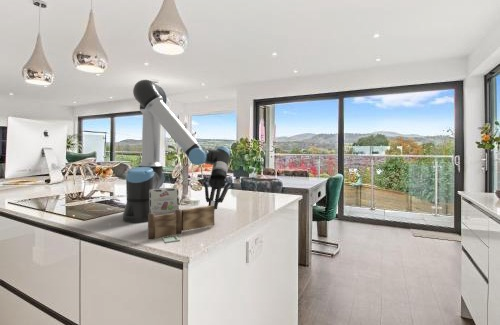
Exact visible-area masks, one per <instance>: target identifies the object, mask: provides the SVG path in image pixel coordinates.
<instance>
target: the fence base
mask: <svg viewBox="0 0 500 325" xmlns="http://www.w3.org/2000/svg"><path fill="white" fill-rule="evenodd" d="M182 210H183V209H180V208H179V209H178V210H175V213H170V214H163V215H156V216H155V213H149V214H148V221H147V225H148V226H147V228H148V229H147V236H148V240H151V241H152V240H155V239H162V237H166V236H173V235H176V236H177V235H181V234H182V233H183V231H182Z"/></svg>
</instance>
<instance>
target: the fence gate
mask: <svg viewBox="0 0 500 325" xmlns="http://www.w3.org/2000/svg"><path fill="white" fill-rule="evenodd" d="M181 210H182V232H185V231H191V230H196V229H202V228H206V227H210V226H211V227H212V226H214V225H215V211H214V210H216V209H215V208H214V206H208V205H206V206H198V207H192V208H191V207H190V208H185V209H183V208H182V209H181Z"/></svg>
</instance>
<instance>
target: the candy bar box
mask: <svg viewBox="0 0 500 325" xmlns="http://www.w3.org/2000/svg"><path fill="white" fill-rule="evenodd" d="M179 198H180V197H179V188H178V187H162V188H161V187H160V188H159V189H149V206H150V213H155V216H156V215H163V214H170V213H175V210H178V209H180V208H179V206H180V205H179V204H180V203H179V202H180V201H179V200H180V199H179Z"/></svg>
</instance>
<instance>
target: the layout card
mask: <svg viewBox="0 0 500 325" xmlns="http://www.w3.org/2000/svg"><path fill="white" fill-rule="evenodd" d="M161 239H162V240H163V241H164V243H165V244H167V243H168V244H169V243H175V242H180V241H181V239H180V238H179V237H178V236H177V234H176V235H171V236H166V237H161Z"/></svg>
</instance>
